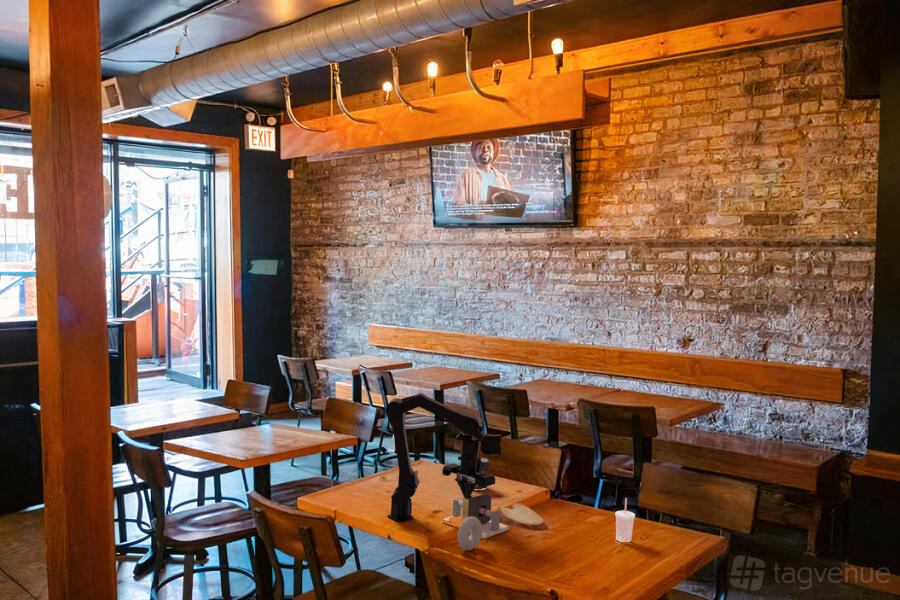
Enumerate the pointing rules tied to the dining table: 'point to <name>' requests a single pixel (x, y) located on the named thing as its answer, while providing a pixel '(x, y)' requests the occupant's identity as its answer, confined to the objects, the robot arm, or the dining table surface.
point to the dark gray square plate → (477, 502)
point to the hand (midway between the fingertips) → (467, 500)
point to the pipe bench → (487, 527)
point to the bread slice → (522, 517)
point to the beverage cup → (624, 524)
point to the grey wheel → (464, 530)
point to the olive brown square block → (466, 505)
